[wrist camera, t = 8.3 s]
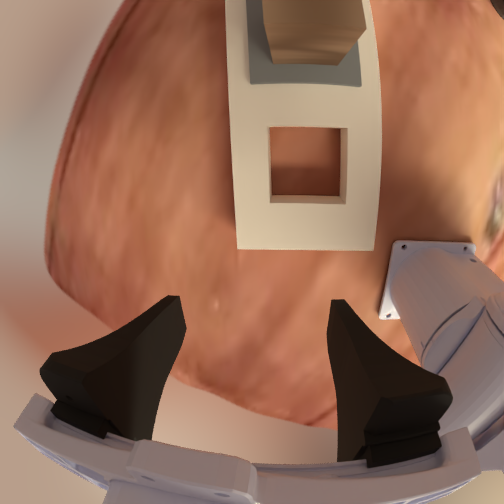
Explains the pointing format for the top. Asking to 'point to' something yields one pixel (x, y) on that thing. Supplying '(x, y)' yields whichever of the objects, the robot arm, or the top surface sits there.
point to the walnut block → (312, 30)
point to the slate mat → (293, 73)
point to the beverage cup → (499, 6)
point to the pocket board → (303, 115)
